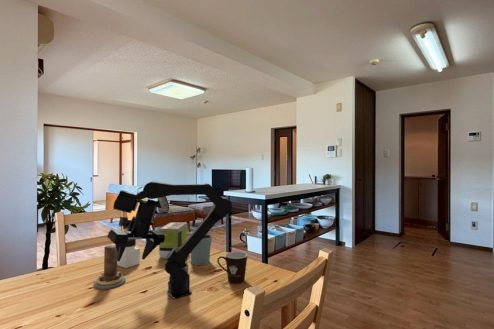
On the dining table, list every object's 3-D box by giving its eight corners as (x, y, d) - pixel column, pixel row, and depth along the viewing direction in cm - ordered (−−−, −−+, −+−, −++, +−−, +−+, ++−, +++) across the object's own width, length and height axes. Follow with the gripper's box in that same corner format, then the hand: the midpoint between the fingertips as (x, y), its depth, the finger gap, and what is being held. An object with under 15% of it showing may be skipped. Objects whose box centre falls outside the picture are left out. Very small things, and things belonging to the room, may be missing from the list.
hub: (118, 274, 112) (118, 271, 112) (126, 281, 105) (126, 278, 105) (94, 280, 106) (94, 277, 106) (100, 288, 99) (100, 285, 99)
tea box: (170, 249, 150) (170, 221, 150) (188, 249, 149) (188, 222, 149) (158, 258, 135) (158, 227, 135) (178, 259, 134) (178, 228, 134)
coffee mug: (251, 280, 109) (251, 254, 109) (236, 287, 103) (236, 260, 103) (231, 272, 117) (231, 248, 117) (215, 278, 111) (215, 253, 111)
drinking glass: (185, 262, 128) (185, 236, 129) (199, 256, 137) (199, 232, 137) (201, 267, 123) (202, 240, 123) (215, 260, 132) (216, 235, 132)
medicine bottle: (140, 263, 127) (140, 237, 127) (125, 268, 121) (126, 241, 121) (130, 260, 131) (130, 235, 131) (116, 265, 125) (116, 238, 125)
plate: (120, 275, 114) (120, 273, 114) (129, 283, 105) (129, 281, 105) (90, 282, 106) (90, 280, 106) (97, 292, 98) (97, 289, 98)
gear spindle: (118, 273, 111) (118, 243, 111) (123, 278, 106) (124, 246, 106) (97, 277, 106) (97, 246, 106) (102, 283, 101) (102, 250, 101)
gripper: (155, 210, 108) (143, 249, 108) (107, 207, 94) (94, 251, 94) (171, 220, 101) (158, 262, 101) (122, 218, 86) (107, 266, 86)
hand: (130, 260), depth 96 cm, fingers open, 9 cm apart
